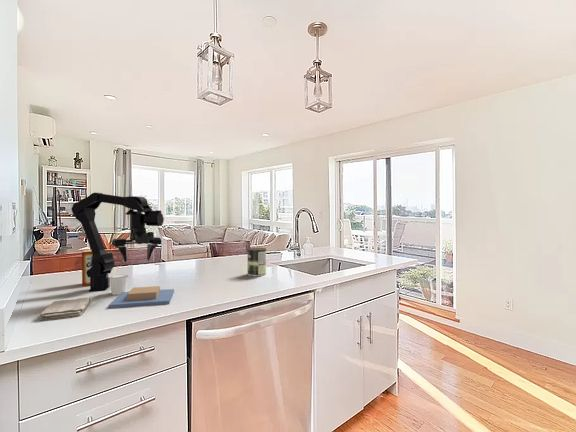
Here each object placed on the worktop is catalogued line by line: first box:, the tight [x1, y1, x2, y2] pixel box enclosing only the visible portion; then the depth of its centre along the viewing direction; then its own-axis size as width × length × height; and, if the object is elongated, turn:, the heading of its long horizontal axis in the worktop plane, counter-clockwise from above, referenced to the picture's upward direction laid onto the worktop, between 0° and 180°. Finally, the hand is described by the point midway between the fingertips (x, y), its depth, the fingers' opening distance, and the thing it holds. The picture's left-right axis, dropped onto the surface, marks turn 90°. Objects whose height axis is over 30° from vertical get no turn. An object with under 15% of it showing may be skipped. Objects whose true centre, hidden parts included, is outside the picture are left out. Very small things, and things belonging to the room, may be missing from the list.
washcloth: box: [39, 296, 92, 322], centre depth 106 cm, size 12×18×3 cm, turn 26°
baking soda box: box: [81, 249, 107, 287], centre depth 146 cm, size 10×6×16 cm
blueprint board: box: [108, 285, 175, 309], centre depth 120 cm, size 20×18×4 cm
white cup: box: [109, 274, 129, 296], centre depth 129 cm, size 7×7×7 cm
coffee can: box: [246, 247, 267, 277], centre depth 168 cm, size 10×10×14 cm
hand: (137, 261), depth 134 cm, fingers open, 9 cm apart
